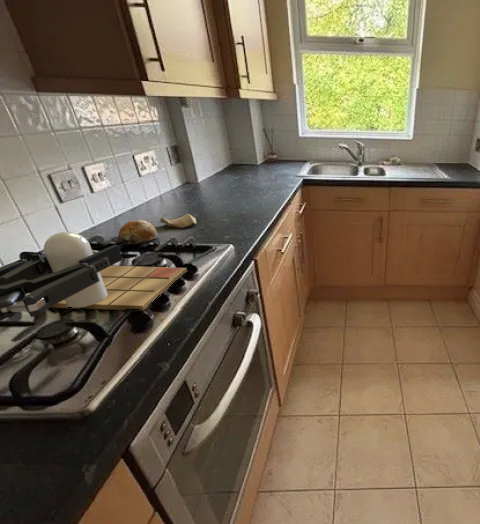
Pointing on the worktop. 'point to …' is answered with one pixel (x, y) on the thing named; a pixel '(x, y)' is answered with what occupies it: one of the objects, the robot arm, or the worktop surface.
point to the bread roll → (137, 232)
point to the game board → (133, 286)
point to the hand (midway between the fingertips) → (102, 250)
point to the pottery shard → (180, 221)
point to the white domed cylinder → (68, 254)
